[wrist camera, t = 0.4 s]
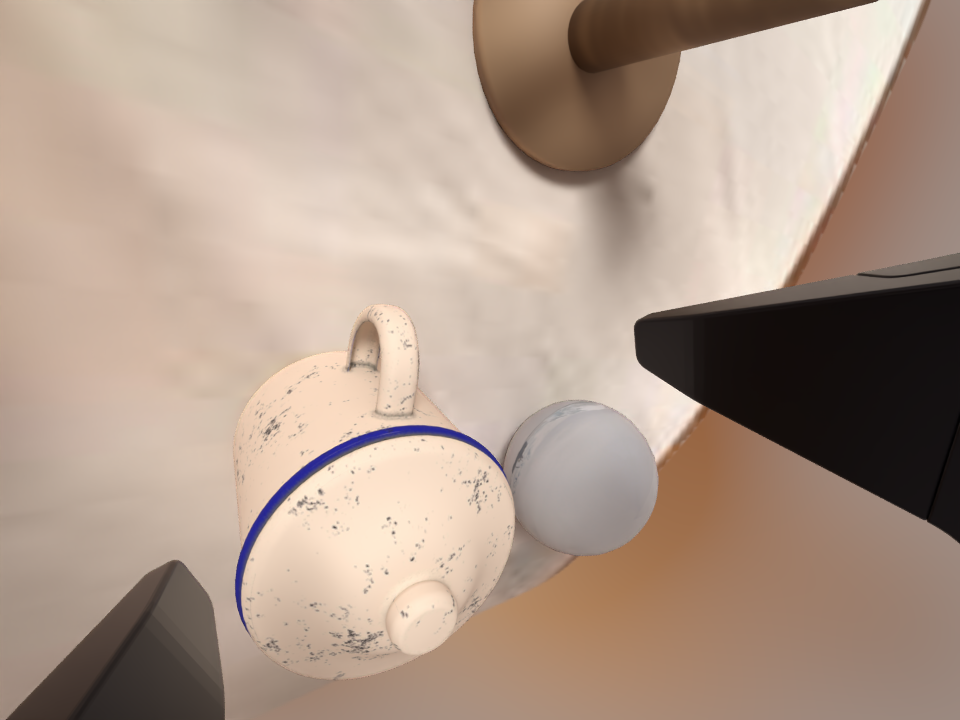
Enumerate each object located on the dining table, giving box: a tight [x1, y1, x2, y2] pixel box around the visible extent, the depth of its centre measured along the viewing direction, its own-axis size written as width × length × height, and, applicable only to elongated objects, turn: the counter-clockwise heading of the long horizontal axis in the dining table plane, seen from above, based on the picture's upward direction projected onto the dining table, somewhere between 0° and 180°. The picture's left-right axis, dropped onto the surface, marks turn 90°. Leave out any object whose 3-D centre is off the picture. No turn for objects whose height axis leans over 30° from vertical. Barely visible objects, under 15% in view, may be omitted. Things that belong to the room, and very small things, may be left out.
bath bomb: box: [503, 400, 658, 556], centre depth 26 cm, size 8×8×8 cm
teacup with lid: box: [233, 304, 515, 680], centre depth 17 cm, size 12×9×12 cm
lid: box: [473, 0, 878, 171], centre depth 17 cm, size 11×11×12 cm
